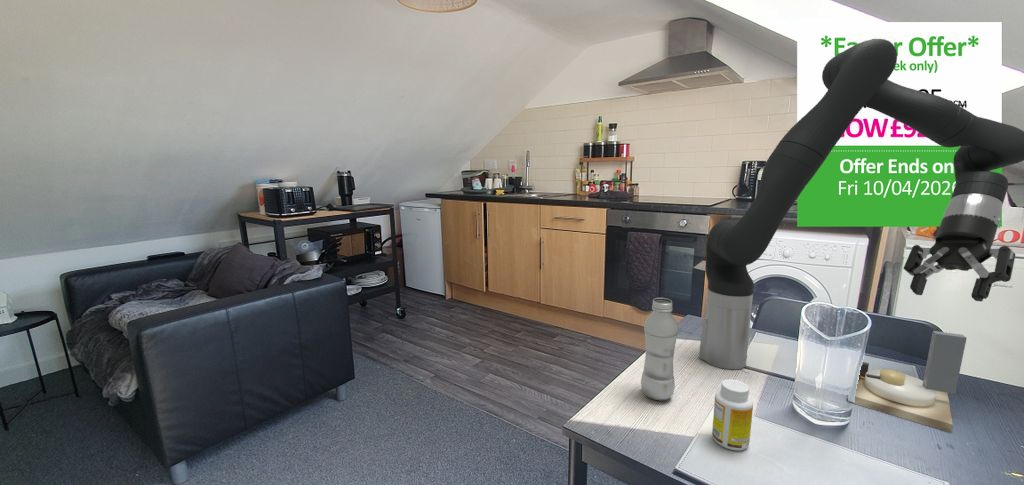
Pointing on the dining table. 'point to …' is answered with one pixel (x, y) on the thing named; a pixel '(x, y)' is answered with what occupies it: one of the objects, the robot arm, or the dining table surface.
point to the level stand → (906, 406)
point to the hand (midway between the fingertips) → (945, 296)
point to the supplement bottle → (732, 415)
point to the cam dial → (937, 375)
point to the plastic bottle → (659, 351)
